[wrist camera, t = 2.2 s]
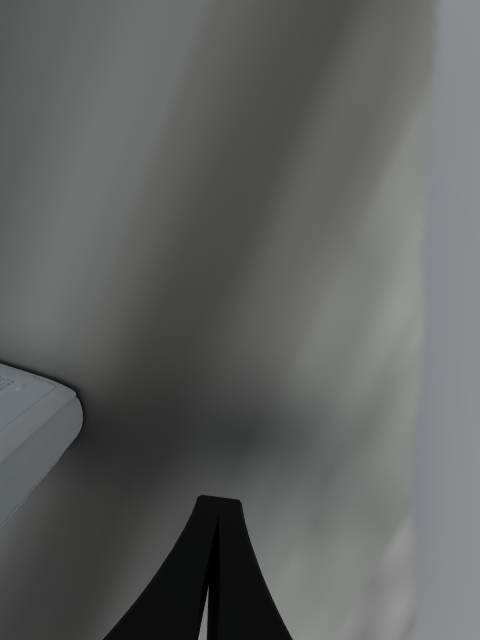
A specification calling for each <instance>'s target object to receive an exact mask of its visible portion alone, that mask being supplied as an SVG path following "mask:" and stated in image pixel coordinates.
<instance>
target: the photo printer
mask: <svg viewBox="0 0 480 640" xmlns="http://www.w3.org/2000/svg"><path fill="white" fill-rule="evenodd" d="M75 396H76V393H75V392H74V391H73V390H72V389H70V388H68V387H66V386H64V385H62V384H59V383H57V382H55V381H53V380H50V379H47V378H44V377H41V376H38V375H35V374H32V373H28V372H26V371H23V370H19V369H16V368H13V367H10V366H6V365H3V364H0V529H1V528H2V526H3V525H4V524H5V523H6V521H7V520H8V519H9V518H10V517H11V516H12V515H13V514H14V512H15V511H16V510H17V509H18V508H19V506H20V505H21V504H22V503H23V502H24V501H25V499H26V498H27V497H28V496H29V495H30V494H31V492H32V491H33V490H34V489H35V488H36V487H37V485H38V484H39V483H40V482H41V481H42V479H43V478H44V477H45V476H46V475H47V474H48V472H49V471H50V470H51V469H52V468H53V467H54V465H55V464H56V463H57V462H58V460H59V459H60V457H61V456H62V454H63V452H64V451H65V450H66V449H67V448H68V446H69V445H70V444H71V443H72V442H73V441H74V439H75V438H76V437H77V435H78V434H79V432H80V430H81V427H82V422H83V412H82V407H81V404H80V402H79V399H78V398H77V397H75Z"/></svg>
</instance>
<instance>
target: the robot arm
mask: <svg viewBox="0 0 480 640" xmlns="http://www.w3.org/2000/svg"><path fill="white" fill-rule="evenodd" d="M208 586H209V592H208V622H207V640H293V639H292V637H291V636H290V634H289V632H288V630H287V628H286V626H285V624H284V622H283V620H282V618H281V616H280V614H279V612H278V610H277V608H276V606H275V603H274V601H273V599H272V597H271V594H270V592H269V590H268V587H267V585H266V583H265V580H264V578H263V575H262V573H261V570H260V567H259V565H258V562H257V559H256V556H255V553H254V550H253V547H252V545H251V541H250V538H249V535H248V531H247V527H246V524H245V519H244V515H243V509H242V503H241V502H240V500H237V499H229V498H222V497H214V496H206V495H201V496H199V497H198V498H197V501H196V504H195V507H194V509H193V512H192V514H191V516H190V518H189V520H188V522H187V524H186V526H185V528H184V530H183V531H182V533H181V535H180V537H179V538H178V540H177V542H176V544H175V545H174V547H173V549H172V550H171V552H170V553H169V555H168V556H167V558H166V560H165V561H164V563H163V564H162V566H161V567H160V569H159V570H158V572H157V573H156V575H155V576H154V577H153V579H152V580H151V582H150V583H149V584H148V586H147V587H146V588H145V590H144V591H143V592H142V594H141V595H140V596H139V597H138V599H137V600H136V601H135V603H134V604H133V605H132V606H131V607H130V609H129V610H128V611H127V612H126V613H125V615H124V616H123V617H122V618H121V619H120V621H119V622H118V623H117V624H116V625H115V626H114V628H113V629H112V630H111V631H110V632H109V633H108V634H107V635H106V637H105V638H104V639H103V640H198V637H199V632H200V627H201V622H202V617H203V612H204V606H205V601H206V596H207V591H208Z"/></svg>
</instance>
